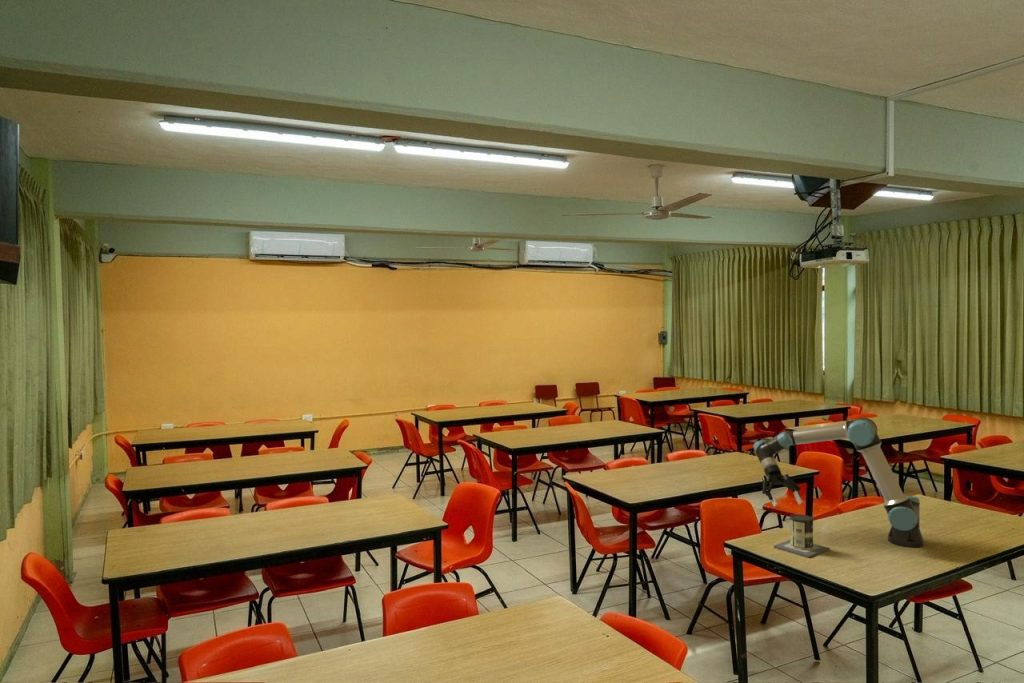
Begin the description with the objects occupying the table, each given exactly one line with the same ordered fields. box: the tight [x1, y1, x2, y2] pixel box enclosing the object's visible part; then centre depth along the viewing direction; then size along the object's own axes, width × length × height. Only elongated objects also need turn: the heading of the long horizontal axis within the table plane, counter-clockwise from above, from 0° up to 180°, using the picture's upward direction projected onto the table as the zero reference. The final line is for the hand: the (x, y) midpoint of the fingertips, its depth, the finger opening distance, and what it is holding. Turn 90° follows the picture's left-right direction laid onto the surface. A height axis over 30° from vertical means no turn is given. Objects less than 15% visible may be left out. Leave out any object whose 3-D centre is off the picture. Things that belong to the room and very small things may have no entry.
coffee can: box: [789, 514, 814, 550], centre depth 319 cm, size 10×10×14 cm
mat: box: [773, 539, 831, 559], centre depth 319 cm, size 18×18×1 cm
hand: (788, 504), depth 329 cm, fingers open, 13 cm apart
